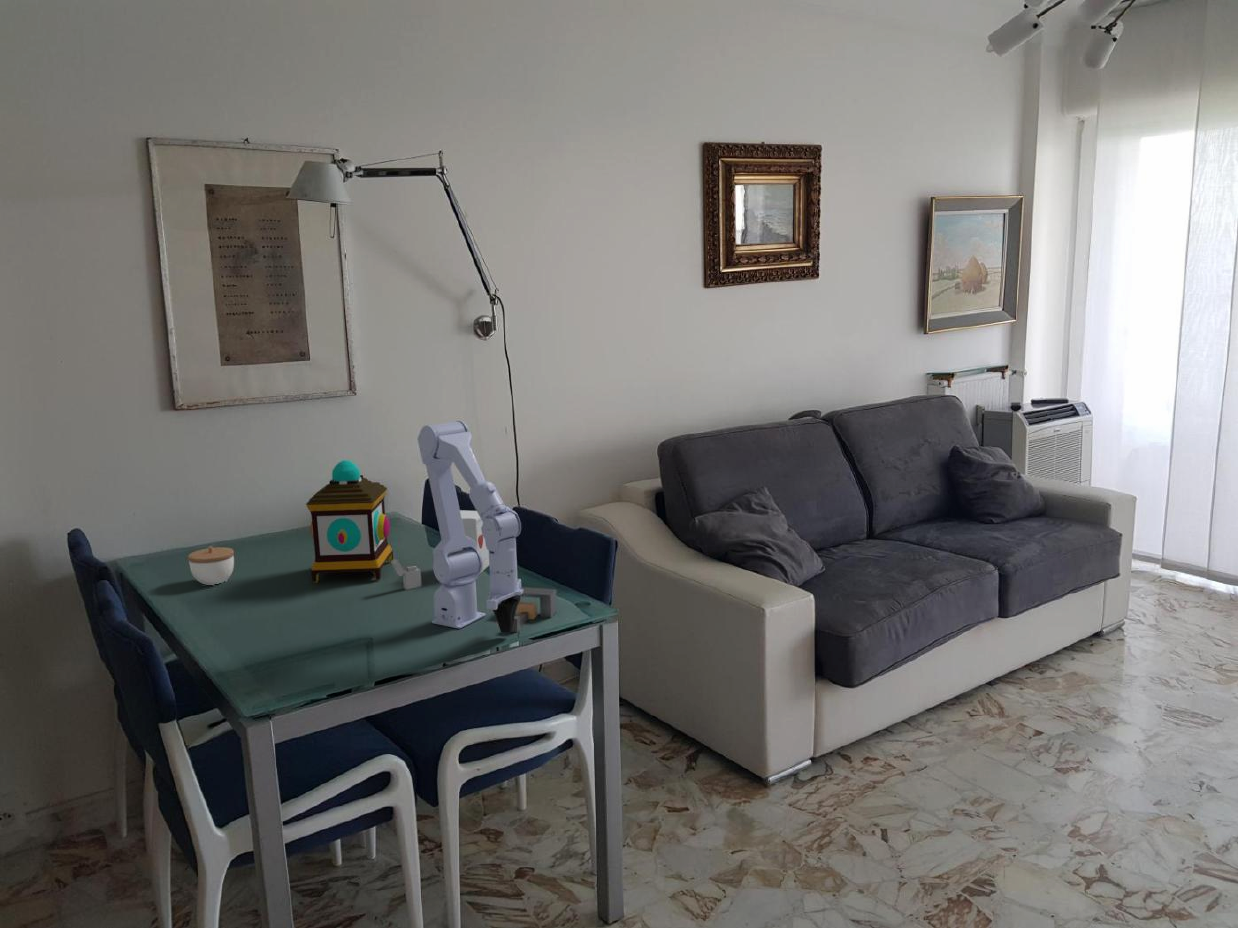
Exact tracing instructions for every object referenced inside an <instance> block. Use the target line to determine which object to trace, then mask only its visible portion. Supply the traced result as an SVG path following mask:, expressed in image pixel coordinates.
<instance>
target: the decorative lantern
mask: <svg viewBox="0 0 1238 928" xmlns="http://www.w3.org/2000/svg"><path fill="white" fill-rule="evenodd" d="M387 490H388V488H387V487H386V486H385V485H383V484H381V483H380V482H378V481H375V482H374V481H371V480H368V478H365V477H364V475H363V474H362V475H361V472H360V468H359V466H357V465H356V463H354V462H353V461H351V460H347V459H343V460H341V461H339V462H338V463H337V464H336V465H335V466H334V467H333V469H332V471H331V480H329V483H328V484H325V486H323V487H321V488H320V489H319V490H318V491H317V492H316V493H314V494H313V495H312V497H311V498H309V500H308V501H307V502H306V503H305V504H306V508H307V509H308V511H309V512H310V515H311V523H310V534H311V537H312V539H313V547H314V549H313V550H314V561H313V564H312V567H311V569H310V576H311V577H310V578H311V581H312V582H313V584H316V583H318V582H319V574H320V573H322V574H323V573H325V574H326V573H350V572H351V573H352V572H372V573H373V575H374V579H375V581H377V582H379V581H380V580H381V575H382V574H381V573H382V568H383V566H384V565H385V564H386V562H387V563H390V564H391V561H392V560H394V551H393V549H392V547H391V546H390V544H389V542H388V537H389V534H390V532H391V531H390V530H391V529H390V528H391V527H390V520H389V517H388V516H387V515H386V509H385V508H386V507H385V497H386V494H387Z"/></svg>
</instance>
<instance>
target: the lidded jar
mask: <svg viewBox="0 0 1238 928" xmlns="http://www.w3.org/2000/svg"><path fill="white" fill-rule="evenodd" d="M234 552H235V551H234V549H233V548H231V547H223V546H222V547H213V546H212V545H211V546H208V547H206V548H204V549H198V550H195V551H193V552H191V553H190V554H188V556H187V557H188V558H187V559H188V562H189V568H190V573H191V575H192V576H193V578H194V579H195V580H196V581H197V582H199V583H200V584H201V583H202V584H206V585H213V586H215V585H214V584H219V583H222V582H224V581H226V582H227V581H228V579H229V578H230V577H231V575H232V574H233V571H234V568H235V556H234V554H235V553H234ZM202 584H201V585H202ZM222 584H223V583H222ZM219 585H220V584H219Z"/></svg>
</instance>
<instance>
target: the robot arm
mask: <svg viewBox="0 0 1238 928" xmlns="http://www.w3.org/2000/svg"><path fill="white" fill-rule="evenodd" d="M417 443H418V447H419V452H420V457H421V461H422V464H423V465H425V468H426V473H427V477H428V481H429V486H430V491H431V496H432V499H433V505H434V506H433V507H434V510H435V516H436V519H437V524H438V529H439V533H440V539H441V540H440V542H438V543H437V545H436V546H435V548H434V549H433V550H432V555H433V556H432V558H433V559H432V560H433V564H432V568H433V569H432V570H433V573H434V576H435V578H436V579H437V581H438V582H439V583H441V585H440V587H439V588H437V589H436V590H435V592H434V594H433V597H432V598H433V612H434V613H433V614H434V619H433V620H432V621H431V623H432V624H435V625H439V626H444V627H450V628H453V629H462V628H463V627H466V626H467V625H469V624H473V622H475V621H478V620H479V619H481V618H484V617H485V616H486V613H485V612H481V611H478V604H477V603H478V602H477V583H476V580H478V579H479V575H480V574H481V573H482V572H483V571H482V567H483V560H482V556H481V554H480V553H479V551H478V548H477V545H476V542H475V541H474V540H472V539H471V538H469V537H467V536H466V535H465V532H464V527H463V523H462V518H461V513H460V510H461V509H460V505H459V500H458V499H459V498H458V495H457V490H456V485H455V479H454V476H453V471H452V465H453V464H454V465H455V467H456V469H457V470H458V472H459V473H460V474H461V476H462V477H463V479H464V481H465V482H466V484H467V485H468V486H469V488H470V490H469V492H468V493H469V494H468V497H469V499H470V501H471V503H472V504H473V507H474V508H475V511H477V512H478V514H479V516H480V518H481V520H482V522H483V524H482V527H481V531H482V534H483V537H484V539H485V543H486V547H487V550H489V566H488V567H489V568H488V570H489V583H490V584H489V587H490V588H489V593H488V598H487V599H486V610H492V612H493V614H494V616H495V617H496V618H495V619H496V621H497V624H498V628H499V631H500V632H502V633H511V632H510V631H512V627H513V622H514V617H515V616H516V615H515V612H516V609H517V606H518V604H519V601H520V596H518V595H521V594H522V593H523V589H520V588H521V587H522V579H521V578H518V560H517V539H516V538H517V537H519V535H520V534H521V531H522V522H521V519H520V517H519V515H518V513H517V512H516V511H515V510H513V509H511V508H510V507H509V506H506V504H505V502H504V501H503V498H502V497H501V495H500V494H499V492H498V490H497V488H496V486H495V485H494V483H493V482H490V481H488V480H486V479H485V477H484V474H483V472H482V470H481V467H480V466H479V462H478V461H477V458H476V456H475V455H474V451H473V450H472V443H473V436H472V434H471V431H470V429H469V427H468V425H467V423H466V422H464V421H463V420H456V421H453V422H451V421H450V422H446V423H439V424H431V425H429V424H428V425H427V424H426V425H424V426H422V427H421V429H420V432H419V434H418V436H417ZM457 549H463V550H461V551H457V552H453V553H449V552H451V551H453V550H457ZM448 553H449V554H448ZM481 571H482V572H481ZM480 572H481V573H480ZM479 573H480V574H479ZM478 574H479V575H478Z"/></svg>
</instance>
